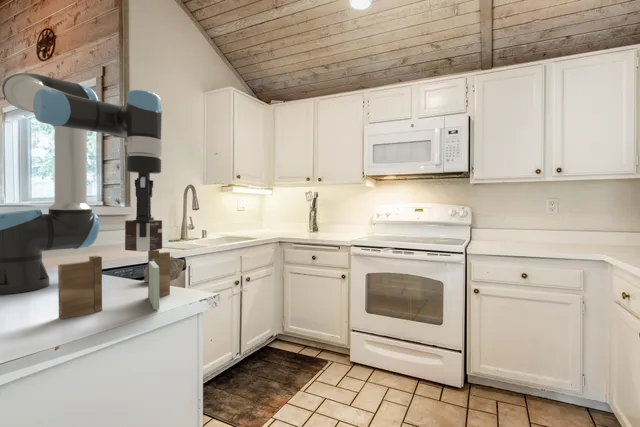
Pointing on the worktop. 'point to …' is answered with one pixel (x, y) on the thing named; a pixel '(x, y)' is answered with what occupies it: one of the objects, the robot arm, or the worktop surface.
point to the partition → (97, 284)
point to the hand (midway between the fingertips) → (144, 248)
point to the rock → (175, 269)
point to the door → (154, 284)
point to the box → (154, 235)
